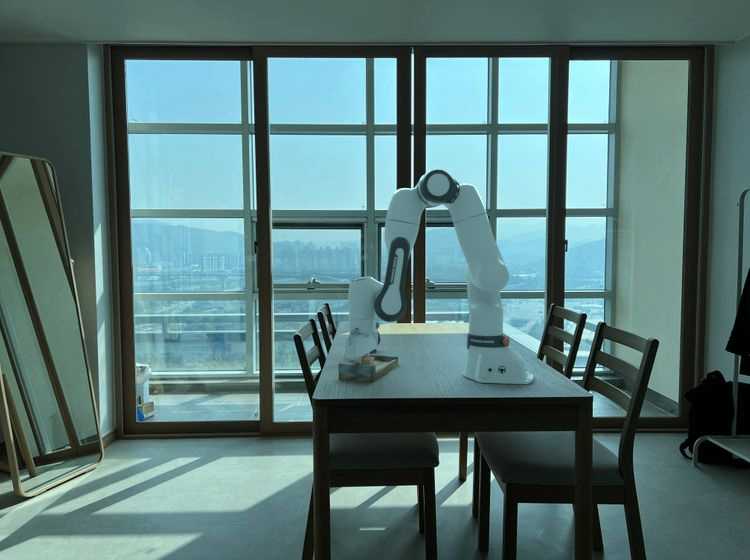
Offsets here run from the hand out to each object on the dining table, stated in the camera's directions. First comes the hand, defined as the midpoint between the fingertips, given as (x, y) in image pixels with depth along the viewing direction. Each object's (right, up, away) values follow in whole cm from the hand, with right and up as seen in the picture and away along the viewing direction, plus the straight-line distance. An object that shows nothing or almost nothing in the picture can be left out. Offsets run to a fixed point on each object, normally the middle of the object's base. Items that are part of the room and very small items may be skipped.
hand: (362, 367), depth 171 cm
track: (+2, -2, +7) cm, 8 cm away
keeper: (0, -2, 0) cm, 2 cm away
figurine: (0, -1, +37) cm, 37 cm away
